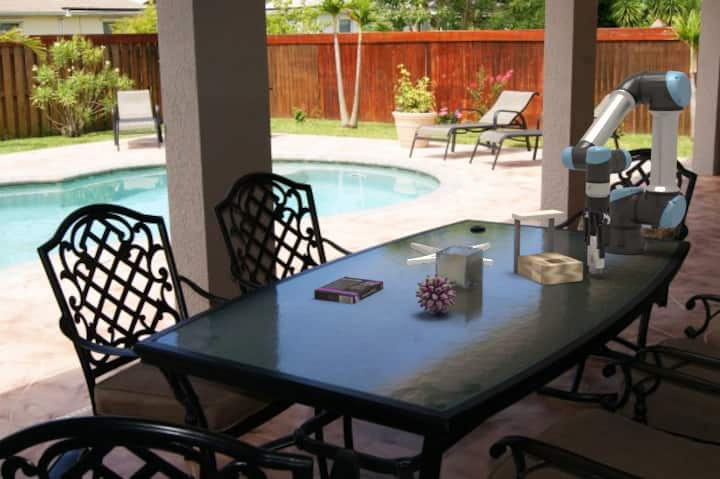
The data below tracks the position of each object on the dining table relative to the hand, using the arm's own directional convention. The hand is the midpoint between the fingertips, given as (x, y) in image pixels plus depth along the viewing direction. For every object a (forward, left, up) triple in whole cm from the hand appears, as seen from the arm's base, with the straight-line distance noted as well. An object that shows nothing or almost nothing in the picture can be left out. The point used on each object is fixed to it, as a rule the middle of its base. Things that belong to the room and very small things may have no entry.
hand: (595, 266), depth 302 cm
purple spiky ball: (+65, +18, -4) cm, 68 cm away
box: (+80, -13, -4) cm, 82 cm away
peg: (0, 0, -2) cm, 2 cm away
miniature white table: (+13, -14, -4) cm, 20 cm away
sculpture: (+29, -48, -4) cm, 56 cm away
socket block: (+13, -6, -4) cm, 15 cm away
